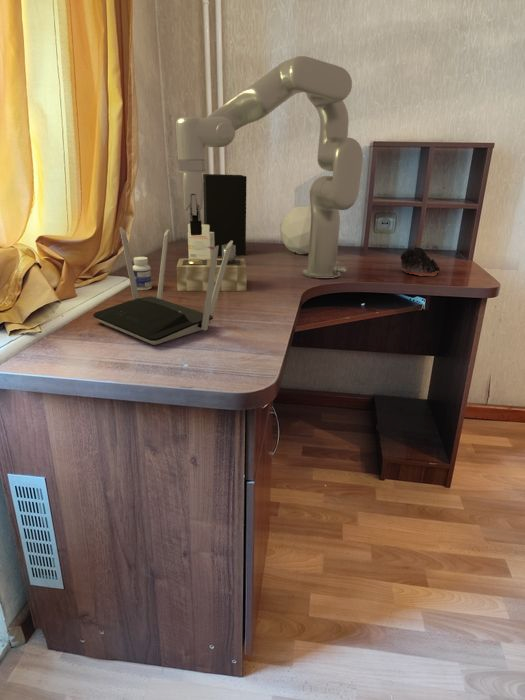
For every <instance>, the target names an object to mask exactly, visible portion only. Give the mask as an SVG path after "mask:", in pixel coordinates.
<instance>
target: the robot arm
mask: <svg viewBox="0 0 525 700" xmlns="http://www.w3.org/2000/svg"><path fill="white" fill-rule="evenodd" d="M352 88H353V81H352V77H351V74H350V73H349V72H348V71H347V70H346V69H345V68H344V67H342V66H338V65H336V64H333V63H330V62H326V61H324V60H319V59H316V58H313V57H309V56H305V55H299V56H295V57H293V58H290V59H287V60H284V61H282V62H281V63H279V64H278V65H276V66H275V67H274V68H272V69H271V70H270V71H269V72H267V73H266V74H264V75H263V76H261V78H260V79H258V80H256V81H255V82H254V83H253V84H251V85H250V86H248V87H247V88H246V89H244V90H243V91H241V92H239V94H237V95H236V96H234V97H233V98H232V99H230V100H229V101H227V102H225V103H224V104H223V105H222V106H220V107H218V108H217V109H216V110H214V111H213V112H212V113H210V114H209V115H207V117H202V118H201V117H198V116H183V117H182V116H181V117H178V118H177V119H176V120H175V131H176V132H175V133H176V144H177V145H176V147H177V158H178V159H177V160H178V161H177V162H178V173H179V174H182V187H183V206H184V207H183V209H184V211H188V210H189V215H190V216H189V218H190V220H189V224H190V230H191V235H202V229H203V228H202V219H201V210H202V209H203V205H204V197H203V174H207V157H206V156H207V155H206V147H207V148H225V147H227V146H229V145H230V144H231V143H232V142H233V141H234V139H235V137H236V131H238V130H239V129H240V128H242V127H244V126H247V125H249V124H252V123H254V122H256V121H259V120H262V119H263V118H265V117H267V116H268V115H269V114H271V113H272V112H274V110H275V109H277V108H278V107H279V106H281V105H282V104H284V103H285V102H286V101H287V100H289V99H290V98H292V97H293V96H295V95H296V94H301V93H305V94H306V97H307V99H308V101H309V102H310V103H311V104H312V105H313V106H314V107H315V109H316V111H317V113H318V117H319V122H320V123H319V124H320V125H319V136H318V137H319V139H318V145H317V146H318V147H317V164H318V165H319V166H318V167H320V169H322V170H324V171H328V172H333V173H332V175H322V176H320V177H318V178H316V179H315V180H314V181H313V182H312V184H311V186H310V190H309V203H310V205H309V206H310V207H311V226H310V240H309V254H308V255H307V257H308V258H307V268H305V269H303V270H302V275H303V274H304V275H303V276H305V275H306V276H305V277H307V276H310V277H309V278H311V277H334V276H338V275H339V274H340V275H341V274H345V275H346V274H348V267H347V266H340V262H339V261H338V249H339V248H338V247H339V237H340V228H341V217H340V216H341V215H340V211H346V210H349V209H351V208H352V207H353V206H354V205H355V203H356V201H357V200H358V196H359V191H360V186H361V185H360V184H361V178H362V169H363V161H364V155H363V149H362V146H361V145H360V142H358V141H357V140H356V139H355V138H352V137H349V136H348V135H349V123H350V122H349V120H350V118H349V113H348V109H347V106H346V104H345V102H344V101H345V100H346V99H347V98H348V97H349V95H350V93H351V92H352Z"/></svg>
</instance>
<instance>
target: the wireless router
mask: <svg viewBox="0 0 525 700" xmlns="http://www.w3.org/2000/svg"><path fill="white" fill-rule="evenodd" d="M119 232H120V237H121V242H122V248H123V253H124V258H125V264H126V269H127V273H128V278H129V283H130V288H131V289H130V290H131V294H132V295H131V296H132V299H131V300H128V301H125V302H122V303H118V304H116V305H113V306H110V307H107V308H104V309H101V310H98V311H96V312H94V313H93V315H92V316H93V318H96V319H97V320H98V321H99V322H100V323H101V324H102V325H105V326H107V327H110V328H112V329H115V330H117V331H120V332H121V333H125V334H126V335H129V336H131V337H134V338H136V339H138V340H141V341H143V342H146V343H148V344H150V345H153V346H156V345H159V344H163V343H165V342H168V341H172V340H175V339H178V338H181V337H184V336H187V335H191V334H194V333H196V332H200V331H207V330H208V328H209V325H210V324H211V322H212V320H213V319H214V316H213V315H214V311H215V309H216V304H217V300H218V296H219V294H220V292H221V291H220V287H221V283H222V280H223V276H224V272H225V269H226V265H227V262H228V258H229V254H230V251H231V247H232V244H233V241H230V242H229V243H228V244H227V246H226V250H225V253H224V257H223V260H222V264H221V267H220V270H219V274H218V277H217V281H216V284H215V287H214V291H213V285H214V278H215V270H216V263H217V259H218V256H217V255H218V248H219V246H216V247H215V248H214V249H213V251H212V258H211V265H210V272H209V279H208V286H207V291H206V295H205V299H204V301H205V302H204V309H203V312H201V311H198V310H196V309H192V308H190V307H187V306H183V305H180V304H176V303H174V302H171V301H168V300H164V299H163V295H164V293H163V290H164V285H165V282H164V281H165V275H166V273H165V272H166V263H167V255H168V254H167V253H168V245H169V244H168V242H169V235H170V229H166V230H165V232H164V234H163V241H162V249H161V251H162V252H161V257H160V258H161V259H160V267H159V268H160V269H159V277H158V284H157V285H158V286H157V295H156V297H155V296H149V295H148V296H144V297H140V296H139V290H137V285H136V281H135V276H134V271H133V266H134V265H133V263H132V258H131V253H130V252H131V251H130V248H129V244H128V243H129V242H128V238H127V233H126V231H125V229H124V228H123V226H119Z"/></svg>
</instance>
